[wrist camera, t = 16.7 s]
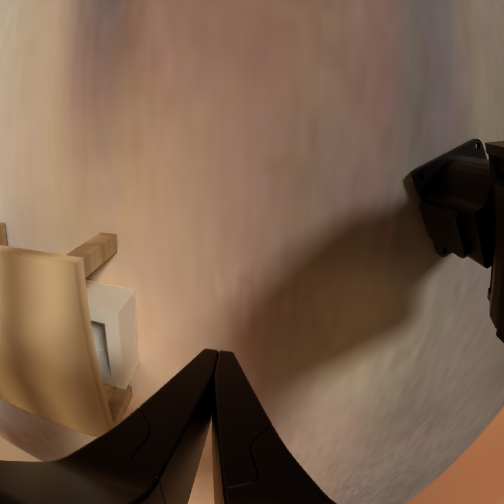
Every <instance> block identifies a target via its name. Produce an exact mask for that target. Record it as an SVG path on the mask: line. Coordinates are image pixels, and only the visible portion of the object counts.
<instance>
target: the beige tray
mask: <svg viewBox="0 0 504 504" xmlns="http://www.w3.org/2000/svg"><path fill="white" fill-rule="evenodd" d="M85 281H86V290H87V298H88V306H89V313H90V319H91V326H92V332H93V337H94V343H95V348H96V354H97V359H98V363H99V368H100V373H101V377H102V381H103V384H107V385H110V386H114V387H117V388H121V389H125V390H126V388H127V386H128V384H129V382H130V380H131V378H132V376H133V374H134V371H135V369H136V367H137V365H138V363H139V349H138V329H137V289H131V288H126V287H121V286H116V285H111V284H106V283H101V282H96V281H91V280H86V279H85Z"/></svg>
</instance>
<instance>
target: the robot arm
mask: <svg viewBox="0 0 504 504" xmlns="http://www.w3.org/2000/svg"><path fill="white" fill-rule="evenodd" d="M476 144H477V149H476V147H475V145H476ZM485 146H486V153H487V154H488V156H489V160H488V159H487V157H486V154H485V151H484V148H483V145H482V142H481V141H480V140H479V139H472V140H470V141H468V142H466V143H464V144H462V145H460V146H458V147H456V148H454V149H453V150H451V151H449V152H447V153H445V154H443V155H441V156H439V157H437V158H435V159H433V160H431V161H429V162H428V163H426V164H424V165H422V166H420V167H418V168H416V169H415V170H414V171H413V172H412V179H413V182H414V184H415V187H416V190H417V193H418V195H419V198H420V201H421V202H420V205H419V207H420V210H421V213H422V216H423V219H424V222H425V225H426V228H427V231H428V235H429V238H430V239H432V240H433V242H434V245H435V249H436V252H437V254H439V255H440V256H441V257H445V256H447V255H449V254H450V253H452V252H453V253H454V254H456V255H457V256H459V257H461V258H465V257H467V256H468V257H470V258H471V259H473V260H474V261H476V262H477V263H479V264H480V265H482V266H483V267H485V268H489V267H491V266H492V268H491V281H490V288H489V289H488V296H487V297H488V300H489V302H490V317H491V320H492V322H493V324H494V326H495V328H496V329H497V331H496V336H497V337H498V338H499V339H500V340H501V341H502V342H503V343H504V141H498V142H488V143H485ZM419 173H421V175H422V177H421V179H420V180H419V179H418V174H419ZM443 247H444V250H443V251H442V248H443ZM211 417H212V455H213V481H214V502H215V504H337V503H335V502H334V501H333V500H331V499H330V498H329V497H328V496H327V495H326V494H325V493H324V492H323V491H322V490H321V489H320V488H319V486H318V485H317V484H316V483H315V482H314V481H313V480H312V478H311V477H310V476H309V475H308V474H307V473H306V471H305V470H304V469H303V468H302V467H301V466H300V464H299V463H298V462H297V461H296V459H295V458H294V457H293V456H292V454H291V453H290V452H289V450H288V449H287V448H286V446H285V444H284V443H283V441H282V440H281V438H280V437H279V435H278V433H277V432H276V430H275V428H274V426H272V423H271V421H270V420H269V418H268V416H267V414H266V412H265V411H264V409H263V407H262V405H261V403H260V402H259V400H258V398H257V396H256V394H255V393H254V391H253V389H252V387H251V385H250V383H249V381H248V380H247V378H246V376H245V374H244V372H243V370H242V368H241V366H240V364H239V363H238V361H237V359H236V357H235V355H234V353H233V352H230V351H219V353H218V351H217V350H213V349H204V350H203V351H202V352H200V353H199V354H198V355H197V356H196V357H195V358H194V359H193V360H192V361H191V362H189V363H188V364H187V365H186V366H185V367H184V368H183V369H182V370H181V371H179V372H178V373H177V374H176V375H175V376H174V377H173V378H172V379H170V380H169V381H168V382H167V383H166V384H165V385H164V386H163V387H161V388H160V389H159V390H158V391H157V392H156V393H155V394H154V395H152V396H151V397H150V398H149V399H148V400H147V401H146V402H144V403H143V404H142V405H141V406H140V408H137V409H136V410H135V411H134V412H133V413H131V414H130V415H129V416H128V417H127V418H125V419H124V420H123V421H122V422H120V423H119V424H118V425H116V426H115V427H113V428H112V429H110V430H109V431H107V432H106V433H104V434H103V435H101V436H100V437H98V438H97V439H95V440H93V441H92V442H90V443H88V444H87V445H85V446H83V447H82V448H80V449H79V450H77V451H75V452H74V453H72V454H70V455H68V456H66V457H64V458H61V459H59V460H55V461H50V462H22V461H2V460H0V504H188V501H189V497H190V494H191V490H192V486H193V483H194V479H195V476H196V472H197V469H198V465H199V462H200V458H201V455H202V451H203V448H204V444H205V440H206V437H207V433H208V430H209V426H210V422H211Z"/></svg>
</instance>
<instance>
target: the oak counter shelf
mask: <svg viewBox="0 0 504 504" xmlns="http://www.w3.org/2000/svg"><path fill="white" fill-rule="evenodd" d="M116 252H117V238H116V234H107V233H100V234H98V235H96V236H95V237H93V238H92V239H90V240H88V241H87V242H85V243H84V244H82V245H81V246H79V247H78V248H76V249H74V250H73V251H71V252H70V253H68V254H67V255H61V254H54V253H47V252H40V251H34V250H27V249H21V248H14V247H8V246H7V238H6V228H5V223H0V398H1V399H3V400H4V401H7V402H9V403H11V404H13V405H15V406H17V407H19V408H21V409H23V410H26V411H28V412H30V413H32V414H35V415H37V416H39V417H42V418H44V419H47V420H49V421H52V422H54V423H57V424H60V425H62V426H65V427H68V428H70V429H73V430H76V431H79V432H82V433H85V434H88V435H91V436H94V437H100V436H101V435H103V434H104V433H106V432H107V431H109V430H110V429H112V428H113V427H115V426H116V425H118V424H119V423H120V422H121V421H122V419H123V416H124V414H125V412H126V409H127V407H128V405H129V403H130V400H131V398H132V390H131V386H127V388H126V390H125V389H121V388H117V387H116V388H115V390H114V392H113V394H112V396H111V398H110V400H109V402H108V401H107V398H106V394H105V390H104V386H103V381H102V377H101V373H100V368H99V363H98V359H97V354H96V348H95V343H94V337H93V332H92V326H91V319H90V313H89V306H88V298H87V290H86V281H85V278H86V277H88V276H89V275H90V274H91V273H92V272H93V271H95V270H96V269H97V268H98V267H99V266H101V265H102V264H103V263H104V262H105V261H106V260H108V259H109V258H110V257H111V256H113V255H114V254H115V253H116Z"/></svg>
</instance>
